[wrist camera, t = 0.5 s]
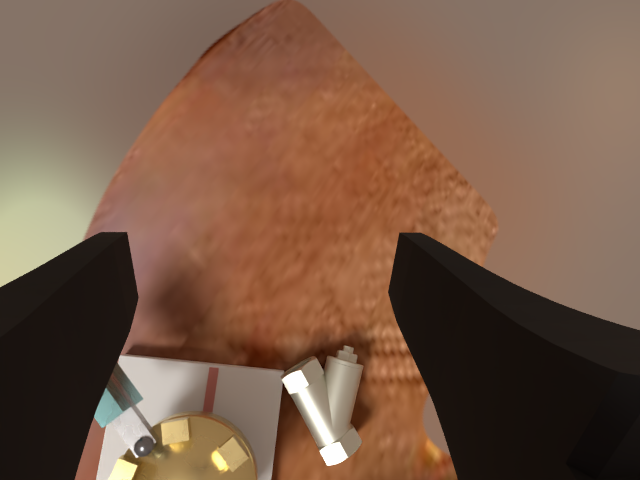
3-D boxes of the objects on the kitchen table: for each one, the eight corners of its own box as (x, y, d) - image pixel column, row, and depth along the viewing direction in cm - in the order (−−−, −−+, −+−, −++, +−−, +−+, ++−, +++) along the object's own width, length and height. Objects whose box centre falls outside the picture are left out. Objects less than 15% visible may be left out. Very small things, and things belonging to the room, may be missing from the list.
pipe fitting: (342, 335, 38) (279, 374, 37) (351, 336, 34) (281, 379, 33) (385, 413, 37) (322, 456, 36) (400, 423, 34) (330, 471, 32)
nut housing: (260, 570, 34) (256, 606, 30) (86, 557, 33) (58, 593, 29) (284, 370, 37) (283, 377, 33) (125, 354, 36) (104, 359, 32)
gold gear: (284, 489, 31) (284, 516, 27) (174, 588, 29) (155, 634, 25) (145, 301, 32) (124, 300, 28) (32, 385, 31) (-8, 397, 27)
